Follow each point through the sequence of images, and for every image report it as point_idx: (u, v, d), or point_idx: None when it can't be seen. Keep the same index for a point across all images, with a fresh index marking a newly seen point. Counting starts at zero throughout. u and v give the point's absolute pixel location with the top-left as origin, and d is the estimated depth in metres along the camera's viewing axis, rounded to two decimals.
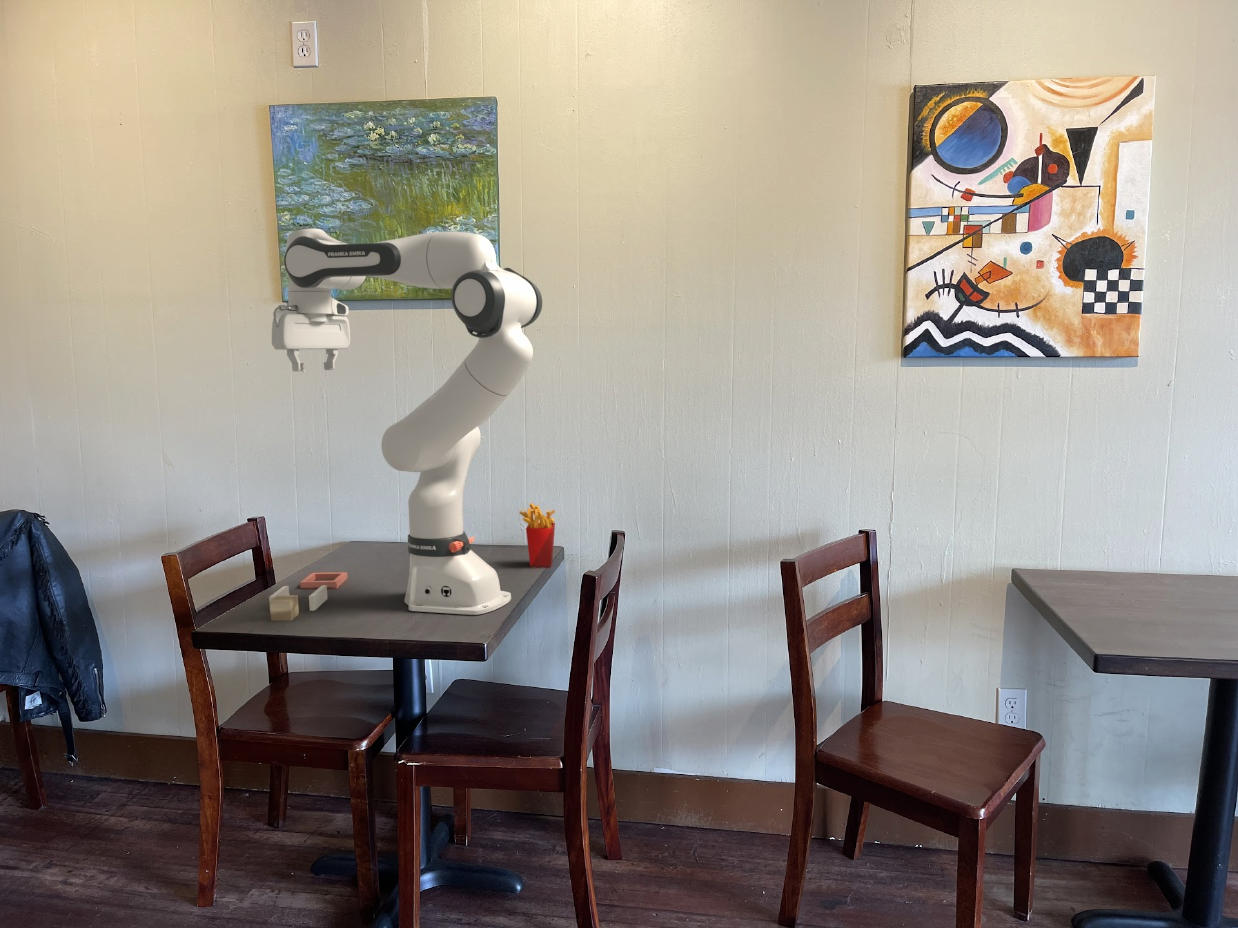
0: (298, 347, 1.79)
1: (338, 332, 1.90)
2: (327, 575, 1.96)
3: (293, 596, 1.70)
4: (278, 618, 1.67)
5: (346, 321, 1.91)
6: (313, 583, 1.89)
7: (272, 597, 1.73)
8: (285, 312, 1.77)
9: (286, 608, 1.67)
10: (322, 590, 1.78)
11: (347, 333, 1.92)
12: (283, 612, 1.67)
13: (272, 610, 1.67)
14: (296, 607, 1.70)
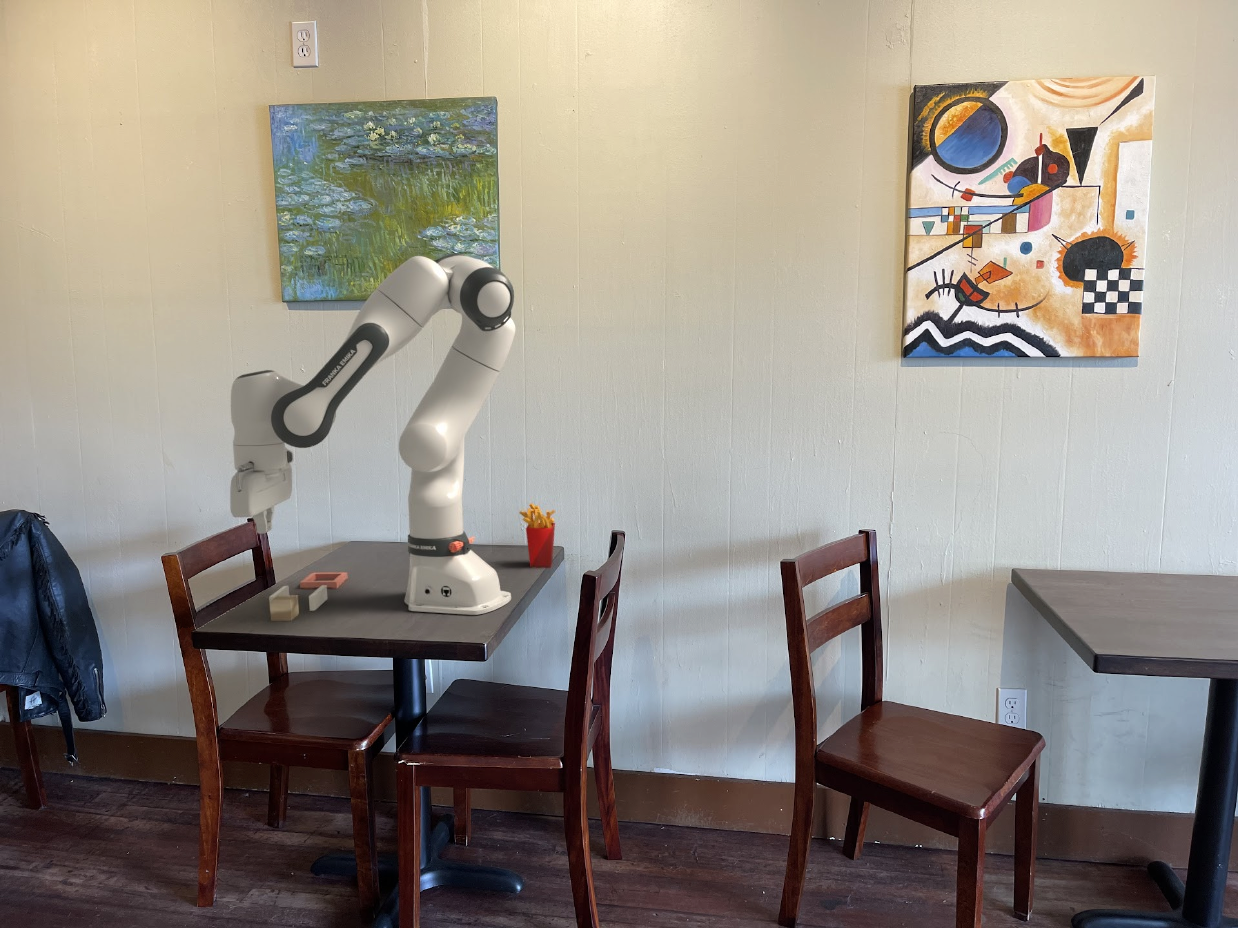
0: (259, 511, 1.53)
1: (284, 482, 1.65)
2: (327, 575, 1.96)
3: (293, 596, 1.70)
4: (278, 618, 1.67)
5: (290, 468, 1.66)
6: (313, 583, 1.89)
7: (272, 597, 1.73)
8: (245, 473, 1.50)
9: (286, 608, 1.67)
10: (322, 590, 1.78)
11: (290, 481, 1.67)
12: (283, 612, 1.67)
13: (272, 610, 1.67)
14: (296, 607, 1.70)
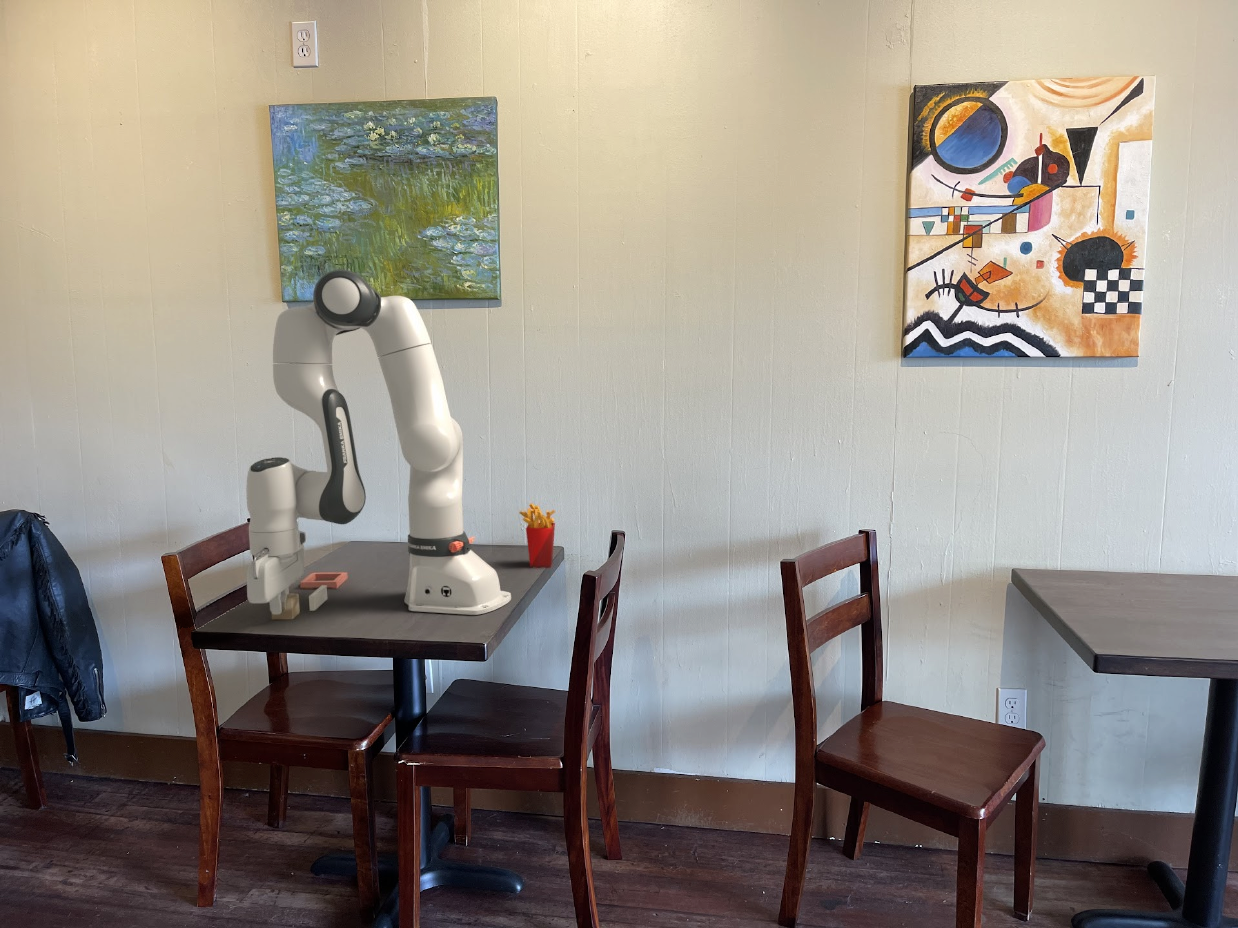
0: (274, 595, 1.59)
1: (297, 562, 1.71)
2: (327, 575, 1.96)
3: (294, 594, 1.70)
4: (279, 616, 1.68)
5: (303, 548, 1.73)
6: (313, 583, 1.89)
7: None
8: (261, 560, 1.57)
9: (287, 606, 1.68)
10: (322, 590, 1.78)
11: (303, 560, 1.74)
12: (284, 610, 1.68)
13: None
14: (296, 605, 1.70)
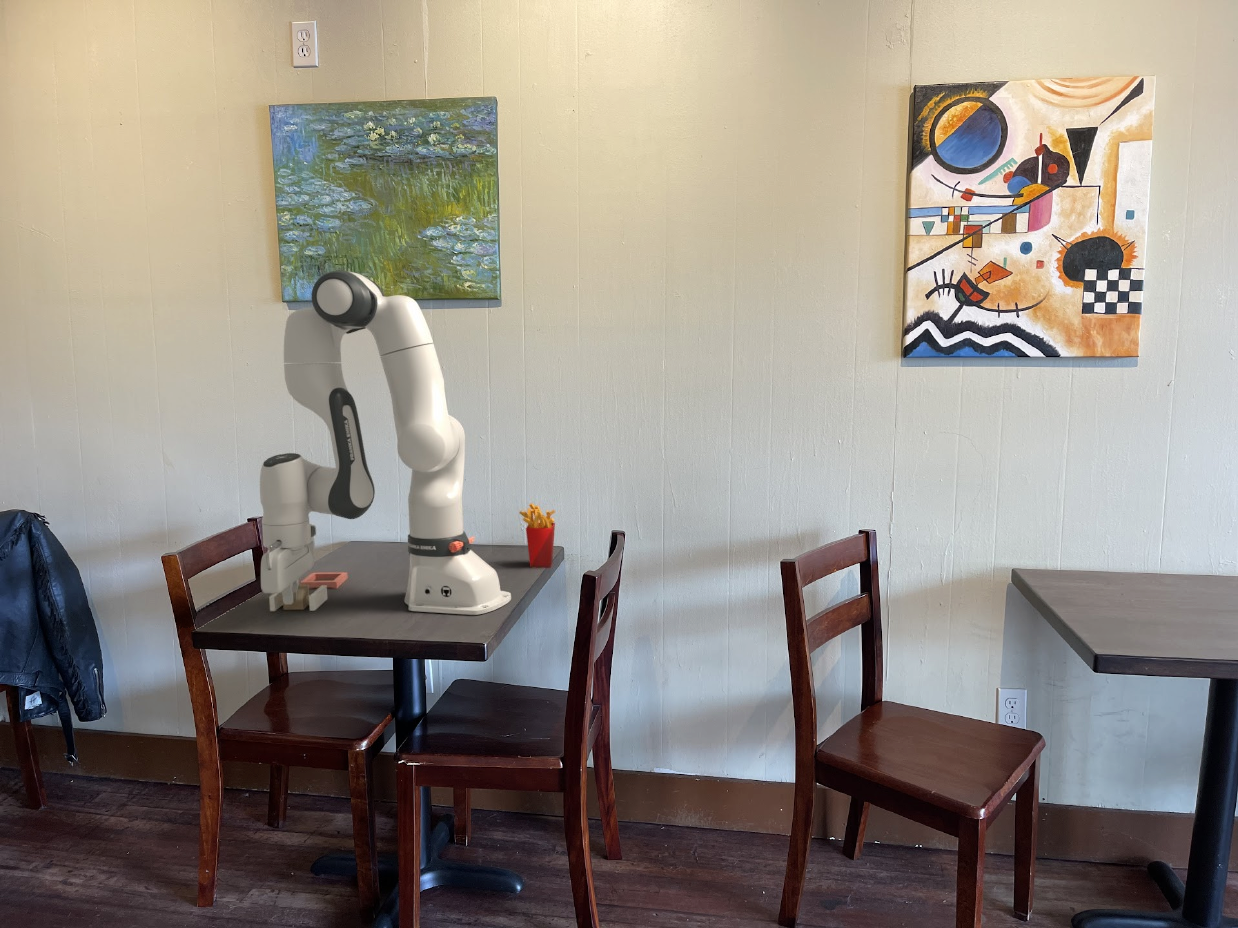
0: (287, 586, 1.66)
1: (307, 555, 1.77)
2: (327, 575, 1.96)
3: (305, 586, 1.77)
4: (290, 607, 1.74)
5: (313, 541, 1.79)
6: (313, 583, 1.89)
7: (272, 597, 1.73)
8: (274, 552, 1.63)
9: (298, 597, 1.74)
10: (322, 590, 1.78)
11: (313, 552, 1.80)
12: (295, 601, 1.74)
13: None
14: (307, 596, 1.77)
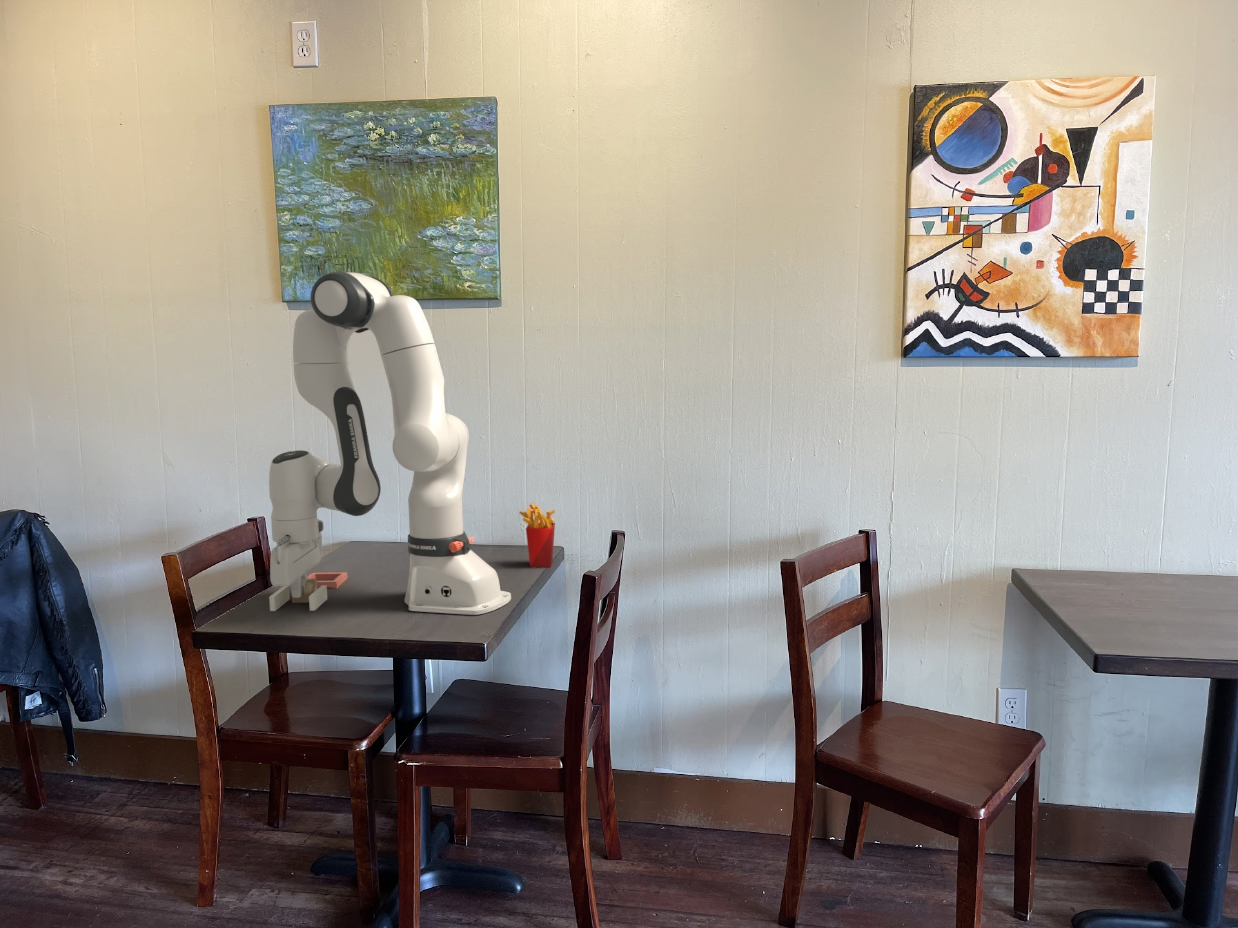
0: (295, 579, 1.70)
1: (315, 549, 1.82)
2: (327, 575, 1.96)
3: (312, 579, 1.81)
4: (298, 600, 1.79)
5: (321, 536, 1.84)
6: None
7: (272, 597, 1.73)
8: (283, 546, 1.68)
9: (306, 590, 1.79)
10: (322, 590, 1.78)
11: (320, 547, 1.85)
12: (303, 594, 1.79)
13: None
14: (315, 589, 1.81)
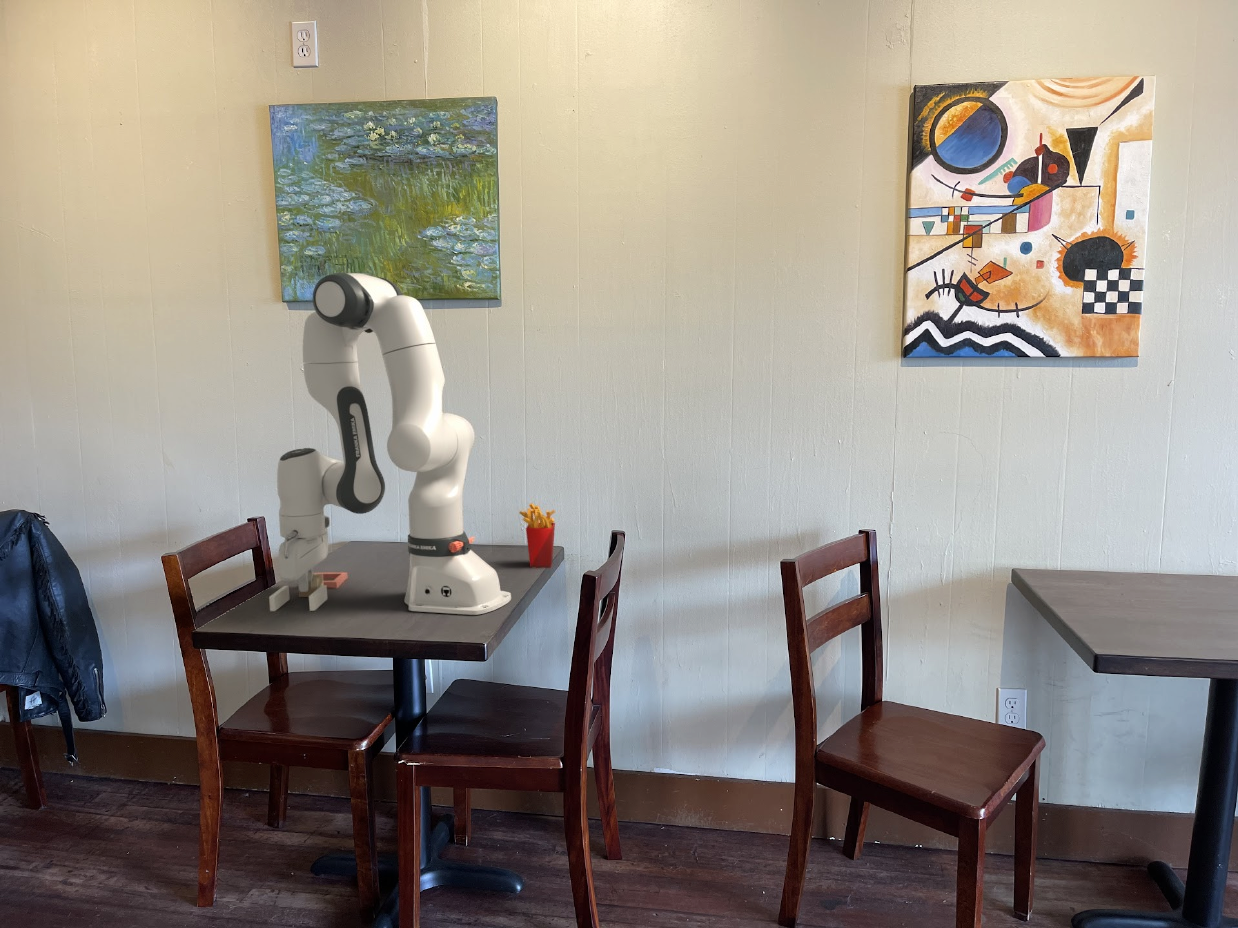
0: (302, 574, 1.75)
1: (321, 545, 1.86)
2: (327, 575, 1.96)
3: (319, 574, 1.86)
4: (305, 594, 1.83)
5: (327, 531, 1.88)
6: None
7: (272, 597, 1.73)
8: (291, 541, 1.72)
9: (313, 585, 1.83)
10: (322, 590, 1.78)
11: (326, 543, 1.89)
12: (310, 588, 1.83)
13: None
14: (321, 584, 1.86)
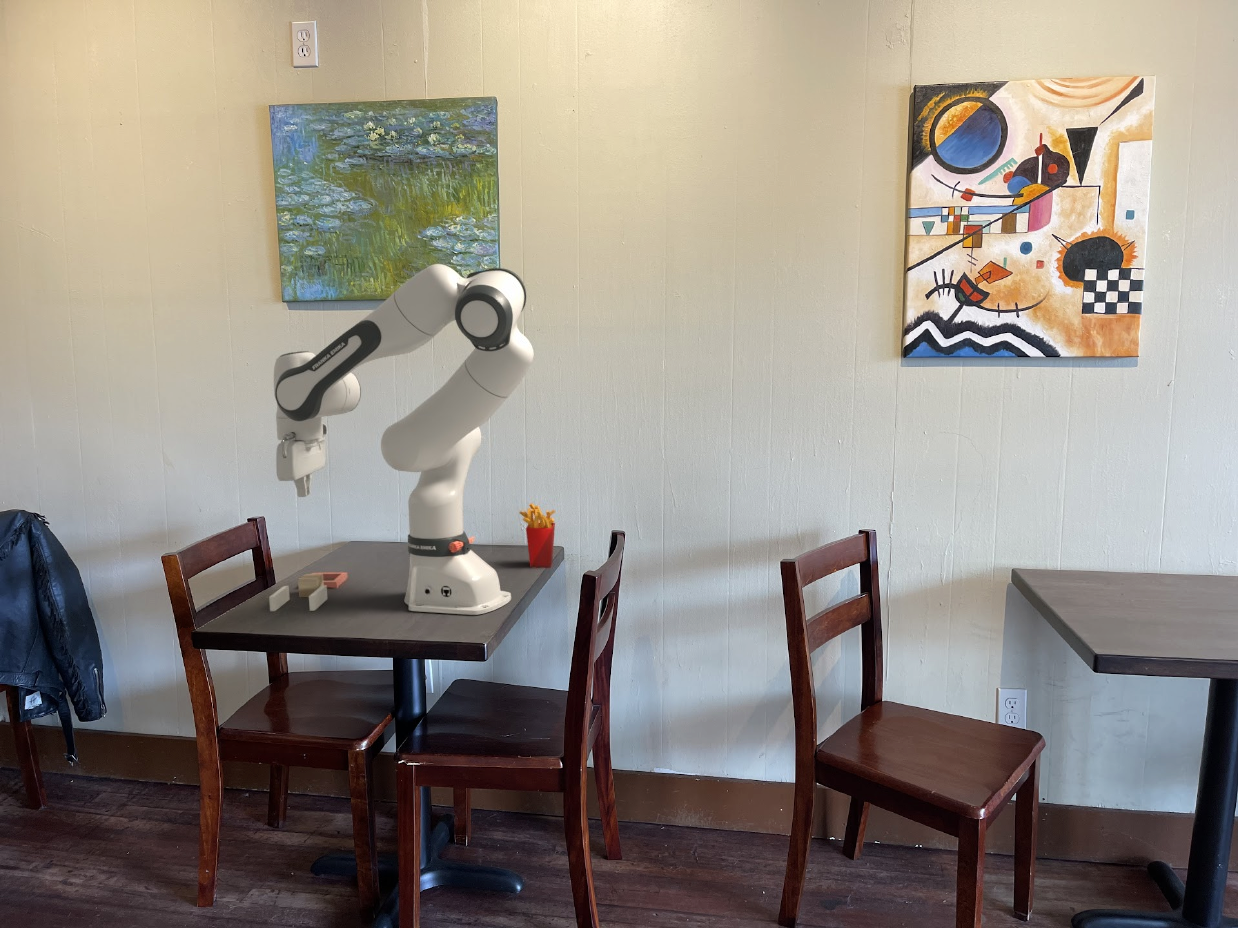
0: (301, 476, 1.73)
1: (319, 453, 1.84)
2: (327, 575, 1.96)
3: (319, 575, 1.86)
4: (305, 594, 1.83)
5: (324, 440, 1.86)
6: None
7: (272, 597, 1.73)
8: (289, 441, 1.70)
9: (313, 585, 1.83)
10: (322, 590, 1.78)
11: (324, 452, 1.87)
12: (310, 589, 1.83)
13: (300, 587, 1.83)
14: (321, 584, 1.86)
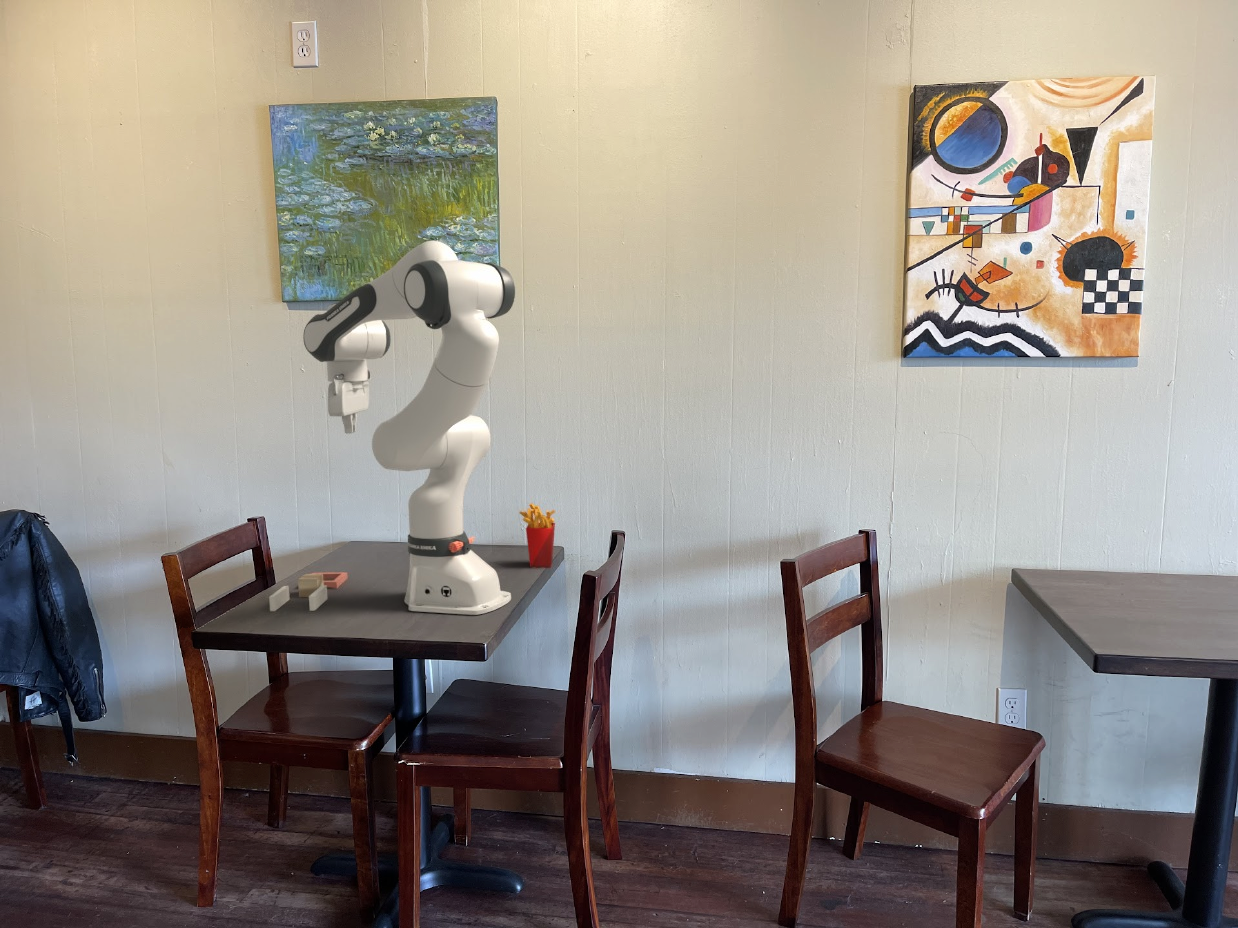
0: (349, 413, 1.93)
1: (363, 396, 2.05)
2: (327, 575, 1.96)
3: (319, 575, 1.86)
4: (305, 594, 1.83)
5: (368, 385, 2.06)
6: None
7: (272, 597, 1.73)
8: (339, 381, 1.90)
9: (313, 585, 1.83)
10: (322, 590, 1.78)
11: (368, 396, 2.07)
12: (310, 589, 1.83)
13: (300, 587, 1.83)
14: (321, 584, 1.86)
